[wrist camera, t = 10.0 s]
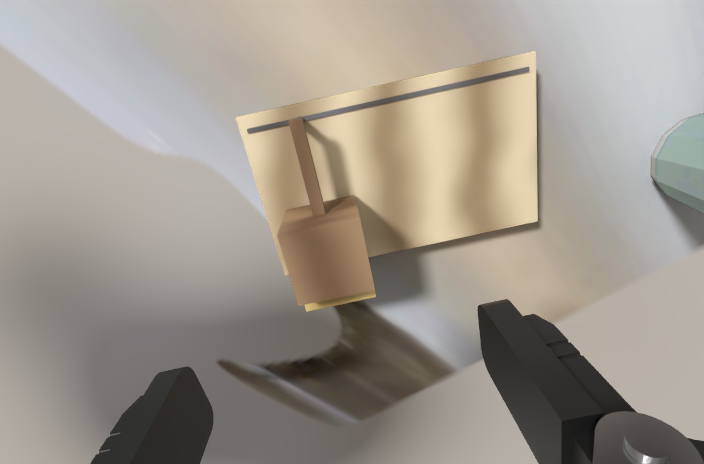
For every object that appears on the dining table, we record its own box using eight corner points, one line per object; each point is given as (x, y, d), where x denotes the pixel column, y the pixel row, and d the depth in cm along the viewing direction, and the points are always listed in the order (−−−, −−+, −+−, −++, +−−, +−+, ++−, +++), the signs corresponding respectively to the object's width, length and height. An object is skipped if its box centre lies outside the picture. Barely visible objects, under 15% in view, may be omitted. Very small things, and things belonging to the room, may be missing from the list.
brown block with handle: (335, 107, 25) (337, 111, 19) (368, 264, 29) (379, 310, 23) (266, 123, 25) (245, 132, 19) (310, 277, 29) (304, 326, 23)
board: (520, 54, 25) (536, 50, 23) (524, 213, 29) (538, 221, 27) (242, 115, 25) (235, 117, 23) (287, 263, 29) (284, 275, 27)
